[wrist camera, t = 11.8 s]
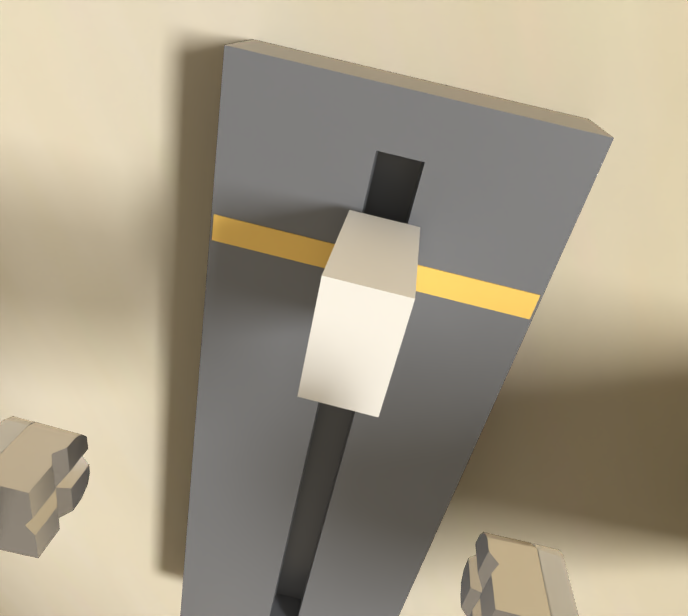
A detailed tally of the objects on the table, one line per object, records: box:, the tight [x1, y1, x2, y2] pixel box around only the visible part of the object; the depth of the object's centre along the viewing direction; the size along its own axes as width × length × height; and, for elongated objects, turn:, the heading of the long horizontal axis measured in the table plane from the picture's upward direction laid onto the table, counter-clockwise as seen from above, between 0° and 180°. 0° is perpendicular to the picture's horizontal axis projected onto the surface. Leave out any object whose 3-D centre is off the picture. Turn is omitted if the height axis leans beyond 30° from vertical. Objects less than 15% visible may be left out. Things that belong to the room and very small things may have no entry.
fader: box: [297, 210, 420, 417], centre depth 17 cm, size 2×4×7 cm, turn 169°
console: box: [180, 39, 614, 616], centre depth 26 cm, size 12×32×3 cm, turn 169°
